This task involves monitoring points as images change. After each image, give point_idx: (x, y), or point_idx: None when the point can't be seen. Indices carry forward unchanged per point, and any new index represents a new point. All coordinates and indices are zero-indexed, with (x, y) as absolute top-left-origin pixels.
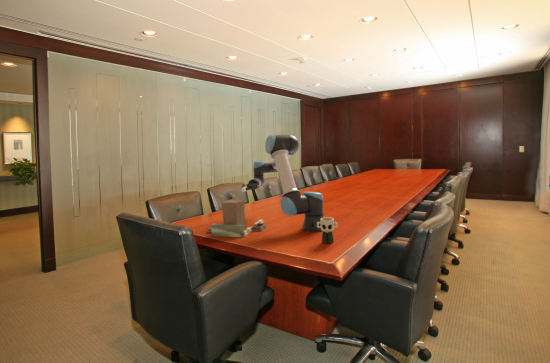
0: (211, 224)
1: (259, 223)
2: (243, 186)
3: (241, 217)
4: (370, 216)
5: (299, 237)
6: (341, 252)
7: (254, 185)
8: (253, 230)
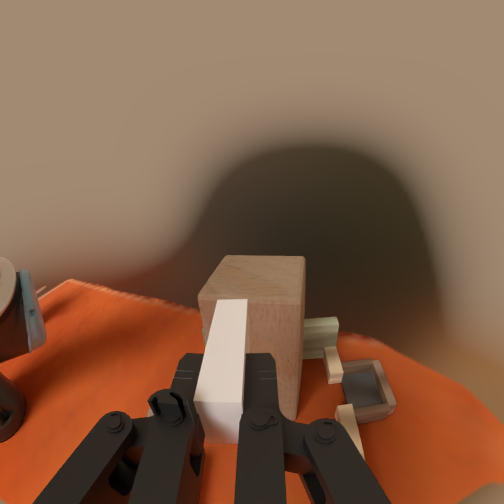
0: (334, 317)
1: None
2: (306, 447)
3: None
4: None
5: (58, 355)
6: (39, 300)
7: (50, 490)
8: None
